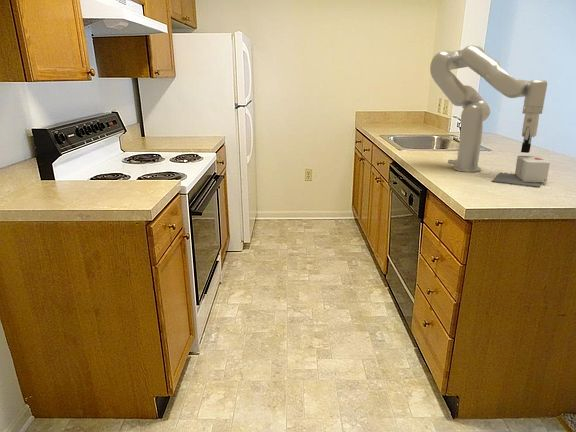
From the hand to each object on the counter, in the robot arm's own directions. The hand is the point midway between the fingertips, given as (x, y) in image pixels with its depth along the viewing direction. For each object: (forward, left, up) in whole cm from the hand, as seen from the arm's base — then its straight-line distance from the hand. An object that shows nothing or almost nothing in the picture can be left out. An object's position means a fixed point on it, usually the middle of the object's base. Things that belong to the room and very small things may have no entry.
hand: (525, 152), depth 184 cm
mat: (0, -9, -11) cm, 14 cm away
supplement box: (+1, +2, -6) cm, 6 cm away
